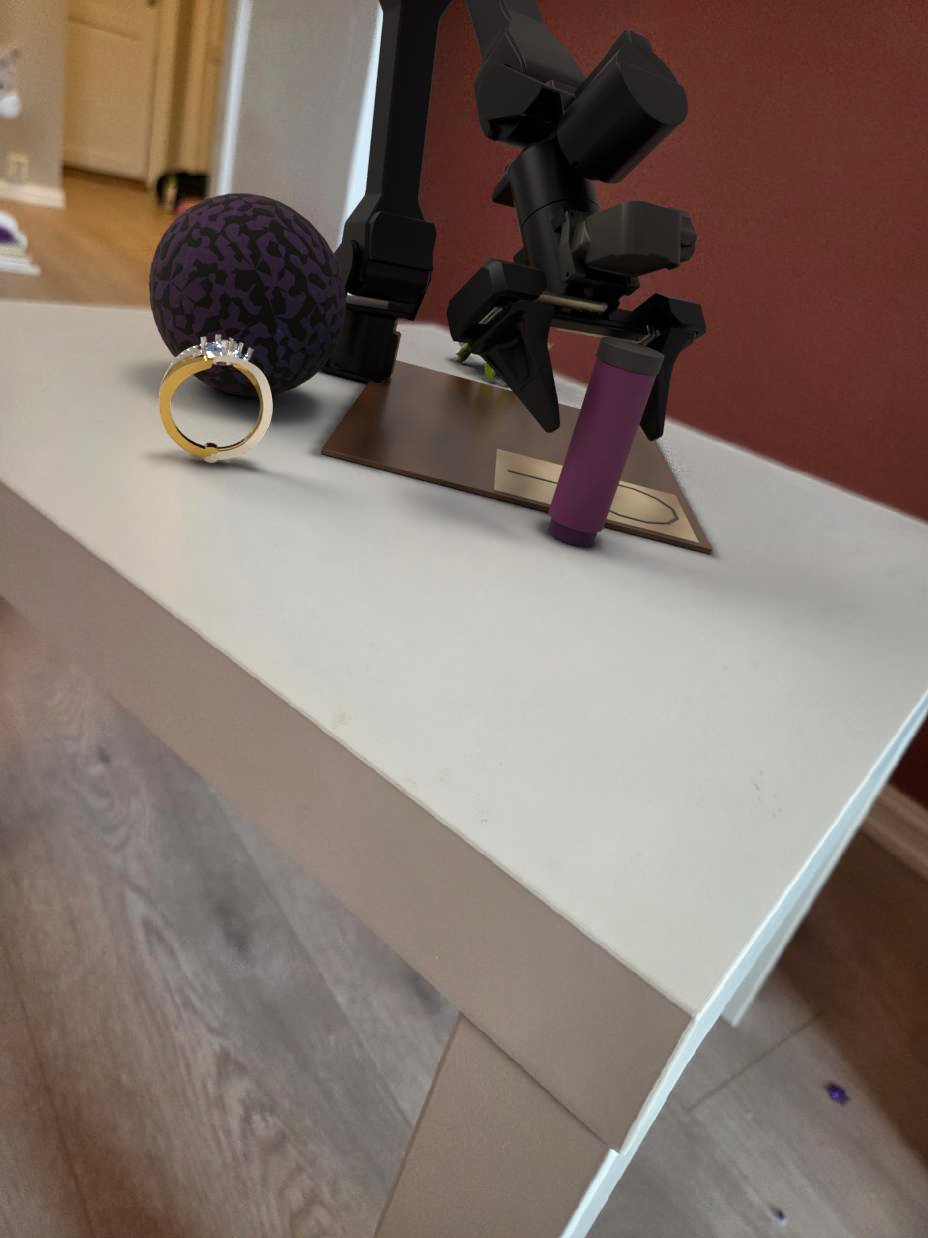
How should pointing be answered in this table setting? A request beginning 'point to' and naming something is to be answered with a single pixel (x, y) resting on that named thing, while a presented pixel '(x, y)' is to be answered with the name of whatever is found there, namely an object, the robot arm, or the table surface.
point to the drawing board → (499, 450)
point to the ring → (213, 354)
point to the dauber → (602, 439)
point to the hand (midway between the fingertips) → (607, 434)
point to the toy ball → (249, 289)
